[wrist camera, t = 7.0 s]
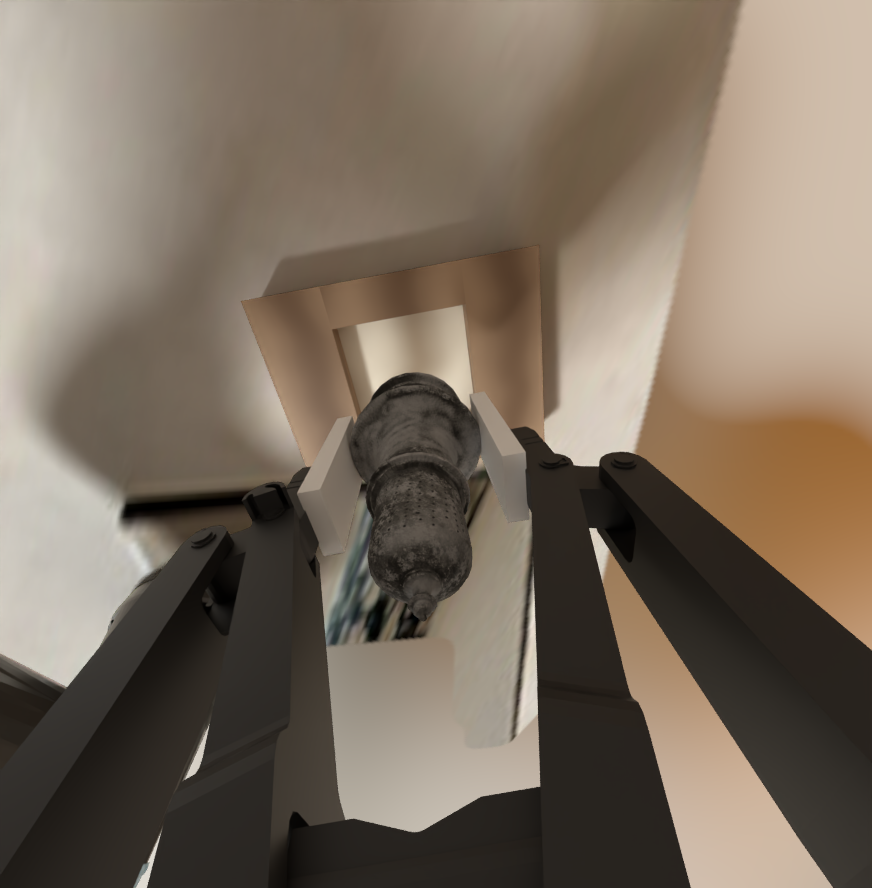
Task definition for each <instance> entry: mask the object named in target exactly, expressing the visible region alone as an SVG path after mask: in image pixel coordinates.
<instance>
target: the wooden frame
mask: <svg viewBox="0 0 872 888" xmlns="http://www.w3.org/2000/svg"><path fill="white" fill-rule="evenodd" d="M241 302H242V305H243V307H244V310H245V312H246V315H247V317H248V320H249V322H250V325H251V328H252V330H253V333H254V335H255V338H256V340H257V343H258V345H259V348H260V350H261V353H262V356H263V358H264V361H265V363H266V366H267V368H268V371H269V373H270V376H271V378H272V381H273V383H274V386H275V389H276V391H277V394H278V396H279V399H280V401H281V404H282V406H283V409H284V411H285V414H286V416H287V419H288V422H289V424H290V427H291V429H292V432H293V434H294V437H295V439H296V442H297V444H298V447H299V450H300V452H301V455H302V457H303V460H304V462H305V465H306V467H310V466H312V464H313V463H314V461H315V459H316V457H317V455H318V453H319V451H320V450H321V448H322V446H323V444H324V442H325V440H326V438H327V437H328V435H329V433H330V431H331V429H332V427H333V425H334V424H335V422H336V420H337V419H338V418H343V417H349V416H352V417H353V420H354V424H355V422H356V420H357V418H358V416H359V414H360V413H361V412H362V411H363V409H364V408H365V407H366V406H367V405H368V404H369V402H370V400H371V398H372V396H373V394H374V393H375V392H376V390H377V389H378V388H379V387H380V386H381V385H382V384H383V383H385V382H386V381H388V380H389V379H390V378H392V377H395V376H398V375H401V374H403V373H413V372H420V373H425V374H431V375H433V376H435V377H437V378H439V379H441V380H443V381H445V382H446V383H447V384H448V385H449V386H450V387H451V388H453V390H454V391H455V393H456V394H457V396H458V397H459V399H460V401H461V402H462V403H463V404H464V405H466V406H467V407H468V409H469V410H470V412H471V413H472V411H471V404H470V396H469V394H474V393H479V392H485V393H486V395H487V396H488V398H489V399H490V400H491V402H492V403H493V405H494V406H495V408H496V409H497V411H498V412H499V414H500V415H501V417H502V418H503V420H504V421H505V422H506V424H507V425H508V427H509V428H510V429H514V428H519V427H524V426H526V427H529V428H531V429H533V430H535V431H536V432H537V434H538V435H539V436H540V437H541V438H542V439H543V442H544V406H543V369H542V333H541V296H540V259H539V245H536V246H531V247H526V248H520V249H515V250H510V251H504V252H499V253H494V254H488V255H483V256H478V257H472V258H467V259H462V260H457V261H451V262H446V263H441V264H435V265H430V266H425V267H419V268H414V269H409V270H403V271H398V272H393V273H387V274H382V275H377V276H372V277H366V278H361V279H356V280H350V281H345V282H340V283H334V284H329V285H324V286H318V287H313V288H308V289H303V290H297V291H292V292H287V293H281V294H276V295H271V296H265V297H260V298H255V299H249V300H244V301H241ZM479 458H481V455H480V457H479ZM362 480H363V479H362Z"/></svg>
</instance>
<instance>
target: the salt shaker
mask: <svg viewBox="0 0 872 888" xmlns="http://www.w3.org/2000/svg"><path fill="white" fill-rule="evenodd" d="M350 449H351V455H352V460H353V463H354V465H355V467H356V469H357V471H358V473H359V475H360V477H361V478H362V479H363V480H364V481H365V482H366V483H367V490H366V503H367V508H368V510H369V512H370V514H371V516H372V518H373V525H372V532H371V538H370V545H369V551H368V563H369V568H370V573H371V576H372V578H373V579H374V581H375V583H376V584H377V585H378V586H379V587H380V588H381V589H382V590H383V591H384V592H385V593H386V594H387V595H388V596H390V597H392V598H394V599H396V600H397V601H401V602H404V603H407V604H408V609H409V610H410V611H411V612H412V613H414V615H415V616H416V617H418V618H419V620H421V621H425V620H426V619H427V617H429V616H430V615H431V613H432V612H433V611H434V610H435V608H436V607H437V602H439V601H442V600H444V599H446V598H448V597H450V596H452V595H453V594H454V593H455V592H457V591H458V590H459V589H460V587H461V586H462V585H463V583H464V582H465V580H466V579H467V578H468V576H469V573H470V570H471V567H472V547H471V542H470V538H469V534H468V529H467V525H466V521H465V516H464V515H465V514H466V512H467V509H468V506H469V503H470V489H469V486H468V483H467V480H468V479H469V478H470V476H471V475H472V473H473V471H474V470H475V468H476V467H477V463H478V460H479V457H480V453H481V435H480V431H479V428H478V424H477V421H476V420H475V418H474V417H473V415H472V413H471V412H470V410H469V409H468V407H467V406H466V405H464V404H463V403H462V402H461V401H460V399H459V397H458V396H457V394H456V393H455V391H454V390H453V388H451V387H450V386H449V385H448V384H447V383H446V382H445V381H443V380H441V379H439V378H437V377H435V376H433V375H431V374H425V373H420V372H413V373H403V374H401V375H398V376H395V377H392V378H390V379H389V380H388V381H386V382H385V383H383V384H382V385H381V386H380V387H379V388H378V389H377V390H376V392H375V393H374V394H373V396H372V398H371V400H370V402H369V404H368V405H367V406H366V407H365V408H364V409H363V411H362V412H361V413H360V414H359V416H358V418H357V420H356V422H355V425H354V427H353V429H352V434H351V442H350Z"/></svg>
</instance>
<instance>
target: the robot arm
mask: <svg viewBox="0 0 872 888" xmlns="http://www.w3.org/2000/svg"><path fill="white" fill-rule="evenodd" d="M469 396H470V404H471V411H472V415H473V417H474V418H475V420H476V421H477V424H478V428H479V431H480V435H481V453H480V455H481V458H482V460H483V463H484V465H485V467H486V470H487V472H488V475H489V477H490V480H491V482H492V485H493V487H494V490H495V492H496V494H497V497H498V499H499V502H500V504H501V507H502V509H503V512H504V514H505V517H506V519H507V521H508V523H512V522H517V521H523V520H528V519H529V508H530V510H531V512H532V532H533V562H534V591H535V621H536V650H537V681H538V685H537V692H538V726H539V754H540V755H539V756H540V787H536V788H530V789H525V790H518V791H513V792H506V793H501V794H495V795H489V796H483V797H480V798H478V799H477V800H475V801H473V802H471V803H470V804H468V805H466V806H464V807H463V808H461V809H459V810H458V811H456V812H454V813H452V814H451V815H449V816H447V817H446V818H444V819H442V820H440V821H438V822H437V823H435V824H433V825H432V826H430V827H428V828H427V829H425V830H423V831H420V832H408V831H404V830H400V829H396V828H391V827H387V826H382V825H378V824H374V823H369V822H365V821H361V820H357V819H349V820H345V817H344V814H343V810H342V807H341V803H340V799H339V793H338V785H337V774H336V762H335V750H334V737H333V725H332V714H331V701H330V689H329V677H328V665H327V652H326V640H325V628H324V616H323V603H322V591H321V579H320V567H319V562H318V560H317V558H316V555H315V553H316V550H317V547H318V544H319V547H320V549H321V551H322V554H323V556H328V555H334V554H339V553H344V552H345V548H346V544H347V540H348V536H349V532H350V528H351V524H352V520H353V516H354V511H355V507H356V503H357V499H358V495H359V491H360V487H361V483H362V478H361V477H360V475H359V473H358V471H357V469H356V467H355V465H354V463H353V460H352V455H351V449H350V442H351V434H352V429H353V427H354V425H355V424H354V420H353V417H352V416H349V417H343V418H338V419H337V420H336V422H335V424H334V425H333V427H332V429H331V431H330V433H329V435H328V437H327V438H326V440H325V442H324V444H323V446H322V448H321V450H320V451H319V453H318V455H317V457H316V459H315V461H314V463H313V464H312V466H310V467H305V468H302V469H301V470H300V471H299V472H297V473H296V474H295V475H294V476H293V478H292V480H291V481H290V484H289V485H288V486H287V489H286V487H285V485H284V483H281V482H271V483H267V484H264V485H261V486H259V487H257V488H255V489H253V490H251V491H250V492H249V493H247V494H246V495H245V496H244V498H243V499H242V502H243V504H244V506H245V508H246V510H247V512H248V513H249V515H250V517H251V519H252V525H251V527H250V528H248V529H245V530H242V531H240V532H237V533H234V534H231V535H230V534H229V533H228V531H227V529H226V527H224V526H221V525H220V526H212V527H209V528H205V529H202V530H201V531H198V532H196V533H195V534H194V535H193V536H191V537H190V538H188V539H187V540H186V541H185V542H184V543H183V544H182V545H181V546H180V548H179V549H178V550H177V551H176V553H175V554H174V555H173V556H172V558H171V559H170V560H169V561H168V563H167V564H166V565H165V566H164V568H163V569H162V570H161V571H160V573H159V574H158V575H157V576H156V578H155V579H153V580H151V581H148V582H146V583H144V584H142V585H141V586H139V587H138V588H136V589H135V590H134V591H133V592H132V593H131V594H130V595H129V596H128V597H127V599H126V600H125V601H124V602H123V603H122V604H121V605H120V606H119V608H118V609H117V610H116V612H115V613H114V615H113V616H112V619H111V621H110V624H109V626H108V632H107V634H106V636H105V638H104V640H103V641H102V643H101V645H100V647H99V649H98V650H97V651H96V652H95V654H94V655H93V656H92V657H91V659H90V660H89V661H88V662H87V664H86V665H85V666H84V667H83V669H82V670H81V671H80V672H79V673H78V675H77V676H76V677H75V678H74V680H73V681H72V682H71V683H70V685H69V686H68V687H65V686H63V685H61V684H59V683H57V682H55V681H53V680H52V679H50V678H48V677H46V676H44V675H42V674H40V673H38V672H36V671H34V670H32V669H30V668H28V667H26V666H24V665H22V664H20V663H18V662H16V661H14V660H12V659H10V658H8V657H6V656H4V655H2V654H0V888H136V886H137V884H138V882H139V881H140V879H141V876H142V875H143V874H144V873H145V872H146V870H147V868H148V865H149V863H148V860H149V858H150V856H151V854H152V851H153V849H154V847H155V844H156V842H157V840H158V838H159V836H160V834H161V836H160V840H159V843H158V847H157V851H156V855H155V859H154V863H153V866H152V870H151V874H150V878H149V882H148V886H147V888H691V887H690V883H689V879H688V876H687V872H686V868H685V864H684V861H683V858H682V854H681V850H680V846H679V842H678V838H677V835H676V831H675V827H674V823H673V820H672V816H671V812H670V808H669V805H668V801H667V798H666V794H665V790H664V786H663V782H662V779H661V775H660V771H659V767H658V764H657V760H656V756H655V752H654V749H653V746H652V741H651V738H650V734H649V730H648V727H647V724H646V720H645V717H644V714H643V711H642V709H641V707H640V705H639V703H638V702H637V701H636V700H634V699H633V698H632V696H631V694H630V692H629V688H628V685H627V681H626V677H625V673H624V669H623V665H622V661H621V656H620V652H619V648H618V644H617V640H616V636H615V632H614V628H613V624H612V620H611V616H610V612H609V608H608V604H607V600H606V596H605V592H604V587H603V583H602V579H601V575H600V571H599V567H598V563H597V559H596V555H595V551H594V547H593V543H592V539H591V535H590V531H589V528H597V531H598V533H599V534H600V536H601V537H602V539H603V540H604V542H605V543H606V545H607V547H608V548H609V550H610V551H611V553H612V554H613V556H614V557H615V559H616V560H617V562H618V563H619V565H620V566H621V568H622V569H623V571H624V572H625V574H626V576H627V577H628V579H629V580H630V582H631V583H632V585H633V586H634V588H635V589H636V591H637V592H638V594H639V595H640V597H641V598H642V600H643V601H644V603H645V604H646V606H647V607H648V609H649V611H650V612H651V614H652V615H653V617H654V618H655V620H656V621H657V623H658V624H659V626H660V627H661V629H662V630H663V632H664V634H665V635H666V636H667V638H668V640H669V641H670V642H671V644H672V646H673V647H674V649H675V650H676V652H677V653H678V655H679V656H680V658H681V659H682V661H683V663H684V664H685V666H686V667H687V669H688V670H689V672H690V673H691V675H692V676H693V678H694V679H695V681H696V682H697V684H698V685H699V687H700V688H701V690H702V691H703V693H704V694H705V696H706V698H707V699H708V700H709V702H710V704H711V705H712V707H713V708H714V710H715V711H716V713H717V714H718V716H719V717H720V719H721V720H722V722H723V723H724V725H725V727H726V728H727V730H728V731H729V733H730V734H731V736H732V737H733V739H734V740H735V742H736V743H737V745H738V746H739V748H740V750H741V751H742V753H743V754H744V756H745V757H746V759H747V760H748V762H749V763H750V764H751V766H752V768H753V769H754V771H755V772H756V774H757V775H758V777H759V778H760V780H761V781H762V783H763V785H764V786H765V788H766V789H767V791H768V792H769V794H770V795H771V797H772V798H773V800H774V801H775V803H776V804H777V806H778V807H779V809H780V810H781V812H782V814H783V815H784V817H785V818H786V820H787V821H788V823H789V824H790V826H791V827H792V829H793V830H794V832H795V833H796V835H797V836H798V838H799V839H800V841H801V842H802V844H803V845H804V846H805V848H806V849H807V851H808V852H809V854H810V855H811V857H812V858H813V859H814V861H815V862H816V864H817V865H818V867H819V868H820V869H821V871H822V872H823V874H824V875H825V877H826V878H827V880H828V881H829V882H830V884H831V885H832V886H833V888H872V650H871V649H869V648H868V647H867V646H866V645H865V644H863V643H862V642H861V641H860V640H859V639H858V638H856V637H855V636H854V635H853V634H852V633H850V632H849V631H848V630H847V629H846V628H845V627H843V626H842V625H841V624H840V623H839V622H837V621H836V620H835V619H834V618H833V617H832V616H830V615H829V614H828V613H827V612H826V611H825V610H823V609H822V608H821V607H820V606H819V605H817V604H816V603H815V602H814V601H813V600H812V599H810V598H809V597H808V596H807V595H806V594H804V593H803V592H802V591H801V590H800V589H798V588H797V587H796V586H795V585H794V584H793V583H791V582H790V581H789V580H788V579H787V578H785V577H784V576H783V575H782V574H781V573H779V572H778V571H777V570H776V569H775V568H774V567H772V566H771V565H770V564H769V563H768V562H767V561H765V560H764V559H763V558H762V557H761V556H759V555H758V554H757V553H756V552H755V551H754V550H752V549H751V548H750V547H749V546H748V545H746V544H745V543H744V542H743V541H742V540H740V539H739V538H738V537H737V536H736V535H735V534H733V533H732V532H731V531H730V530H729V529H727V528H726V527H725V526H724V525H723V524H722V523H720V522H719V521H718V520H717V519H716V518H714V517H713V516H712V515H711V514H710V513H708V512H707V511H706V510H705V509H703V507H701V506H700V505H699V504H698V503H697V502H695V501H694V500H693V499H692V498H691V497H690V496H688V495H687V494H686V493H685V492H684V491H682V490H681V489H680V488H679V487H678V486H676V485H675V484H674V483H673V482H672V481H671V480H669V479H668V478H667V477H666V476H665V475H664V474H662V473H661V472H660V471H659V470H658V469H656V468H655V467H654V466H653V465H652V464H650V463H649V462H648V461H647V460H646V459H644V458H642V457H641V456H639V455H636V454H632V453H629V452H613V453H609V454H606V455H604V456H603V457H601V459H600V463H599V467H597V466H575V465H573V462H572V461H571V459H570V458H568V457H566V456H564V455H561V454H554V453H553V451H552V450H551V449H550V448H549V447H548V445H547V444H546V443H545V442H543V439H542V438H541V437H540V436H539V435H538V434H537V432H536V431H535V430H533V429H531V428H529V427H526V426H524V427H519V428H514V429H510V428H509V427H508V425H507V424H506V422H505V421H504V420H503V418H502V417H501V415H500V414H499V412H498V411H497V409H496V408H495V406H494V405H493V403H492V402H491V400H490V399H489V398H488V396H487V395H486V393H485V392H479V393H474V394H469ZM209 724H210V725H209ZM208 726H209V730H208V735H207V740H206V744H205V749H204V754H203V758H202V762H201V765H200V768H199V769H198V771H197V772H196V774H195V775H193V776H191V777H190V778H187V779H186V780H185V778H186V775H187V773H188V771H189V769H190V766H191V764H192V762H193V760H194V757H195V755H196V753H197V751H198V748H199V746H200V744H201V742H202V740H203V737H204V735H205V732H206V730H207V728H208ZM161 831H162V832H161Z"/></svg>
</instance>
